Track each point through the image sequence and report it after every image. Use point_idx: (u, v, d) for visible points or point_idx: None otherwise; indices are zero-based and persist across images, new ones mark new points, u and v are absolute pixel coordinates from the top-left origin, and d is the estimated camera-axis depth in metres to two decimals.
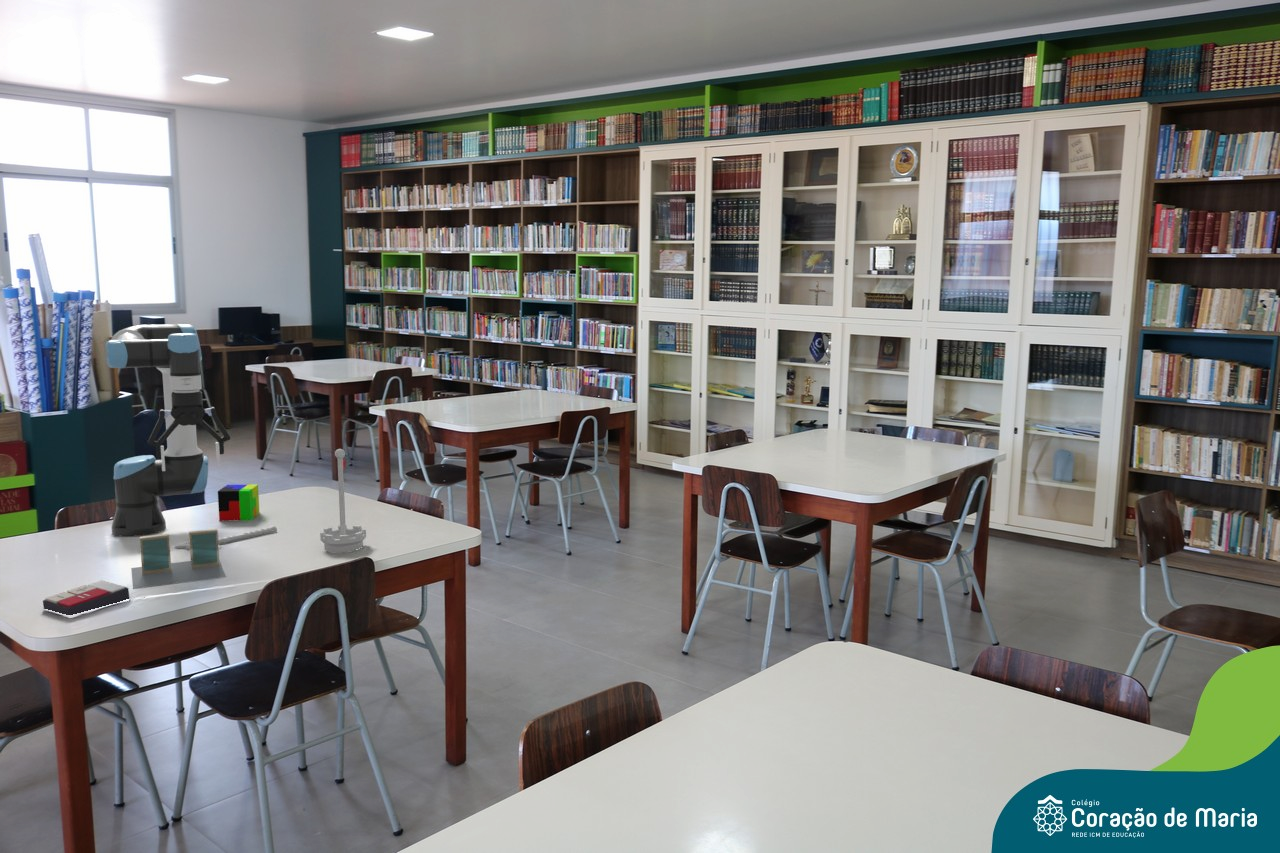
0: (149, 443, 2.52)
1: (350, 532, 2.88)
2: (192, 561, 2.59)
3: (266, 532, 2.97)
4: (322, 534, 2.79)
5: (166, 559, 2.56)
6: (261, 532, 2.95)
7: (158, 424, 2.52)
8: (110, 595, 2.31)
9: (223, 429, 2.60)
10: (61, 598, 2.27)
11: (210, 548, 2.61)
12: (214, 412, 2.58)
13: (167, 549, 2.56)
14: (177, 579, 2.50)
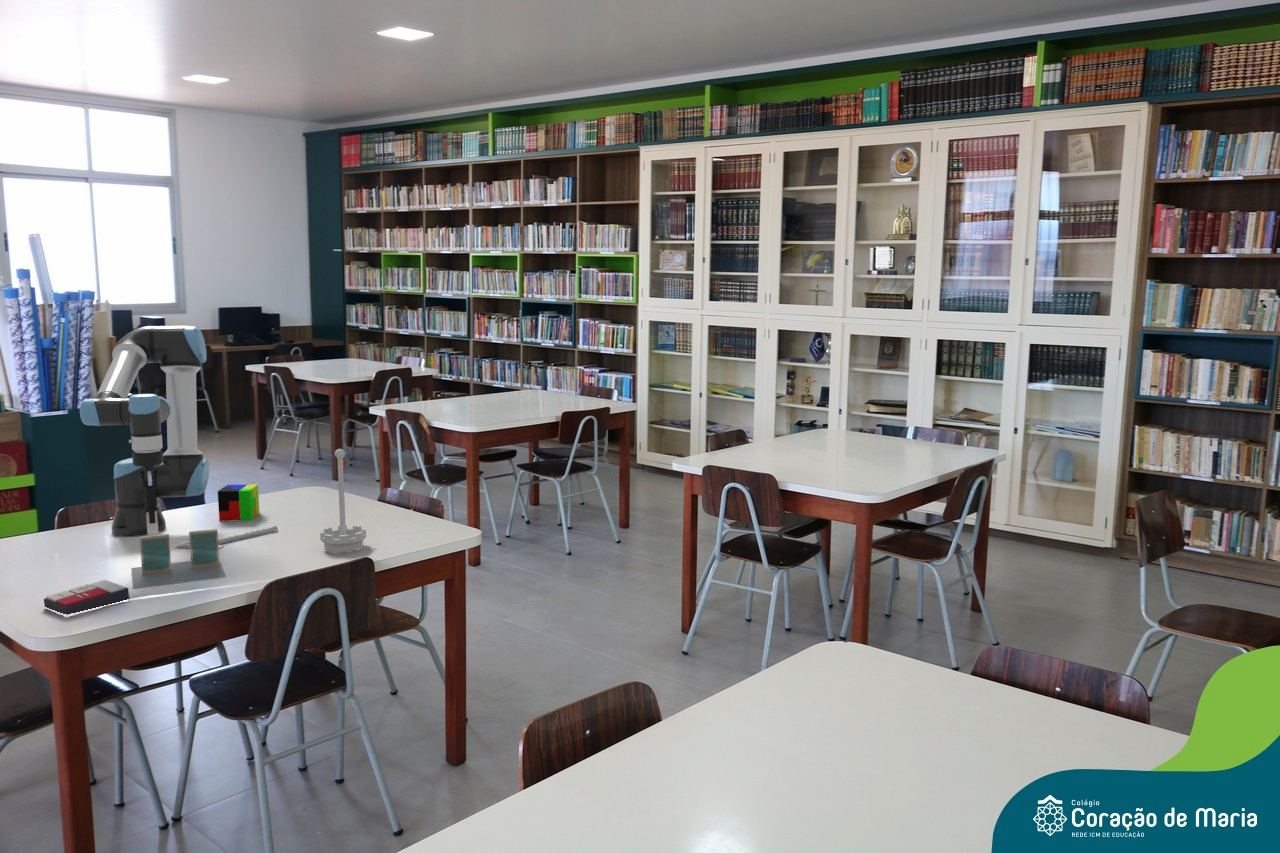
0: (145, 505, 2.65)
1: (350, 532, 2.88)
2: (192, 561, 2.59)
3: (267, 531, 2.98)
4: (322, 534, 2.79)
5: (166, 559, 2.56)
6: (262, 531, 2.96)
7: None
8: (109, 595, 2.31)
9: (146, 500, 2.59)
10: (61, 597, 2.28)
11: (210, 548, 2.61)
12: (145, 483, 2.57)
13: (167, 549, 2.56)
14: (177, 579, 2.50)
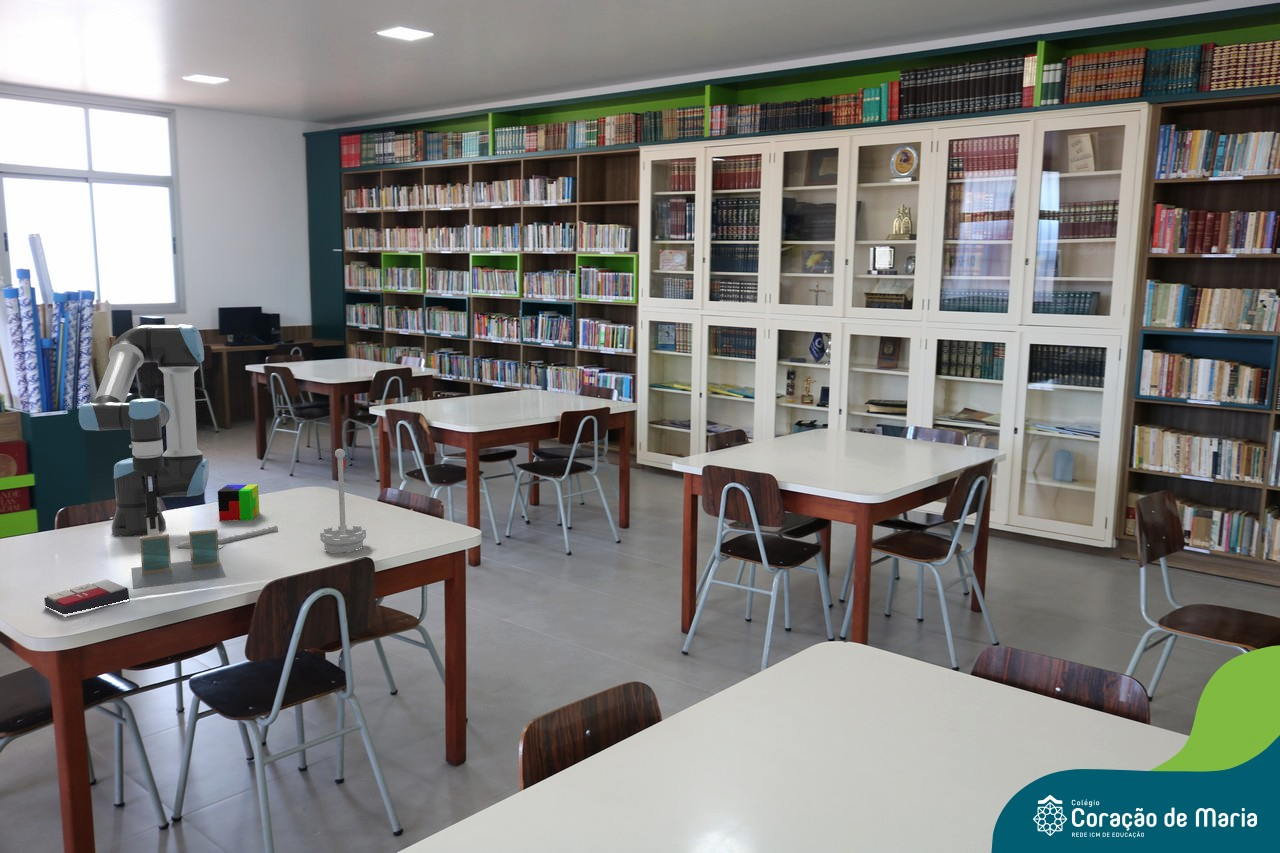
0: (146, 510, 2.63)
1: (350, 532, 2.88)
2: (192, 561, 2.59)
3: (267, 531, 2.98)
4: (322, 534, 2.79)
5: (166, 559, 2.56)
6: (263, 531, 2.96)
7: None
8: (108, 595, 2.31)
9: (146, 506, 2.57)
10: (61, 596, 2.28)
11: (210, 548, 2.61)
12: (145, 489, 2.55)
13: (167, 549, 2.56)
14: (177, 579, 2.50)
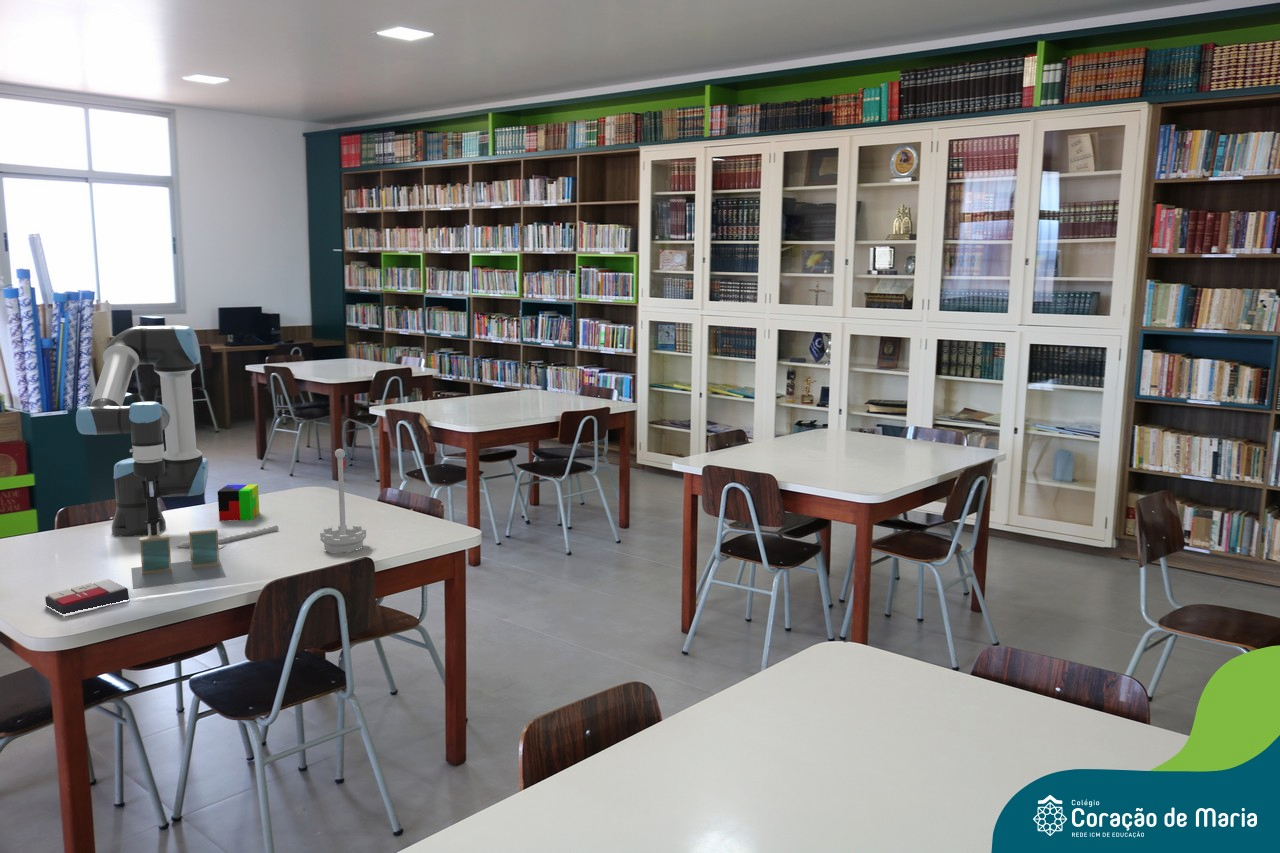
0: (147, 516, 2.57)
1: (350, 532, 2.88)
2: (192, 561, 2.59)
3: (268, 531, 2.98)
4: (322, 534, 2.79)
5: (166, 560, 2.56)
6: (263, 531, 2.97)
7: None
8: (108, 595, 2.31)
9: (147, 512, 2.50)
10: (61, 595, 2.29)
11: (210, 548, 2.61)
12: (146, 495, 2.48)
13: (168, 550, 2.55)
14: (177, 579, 2.50)
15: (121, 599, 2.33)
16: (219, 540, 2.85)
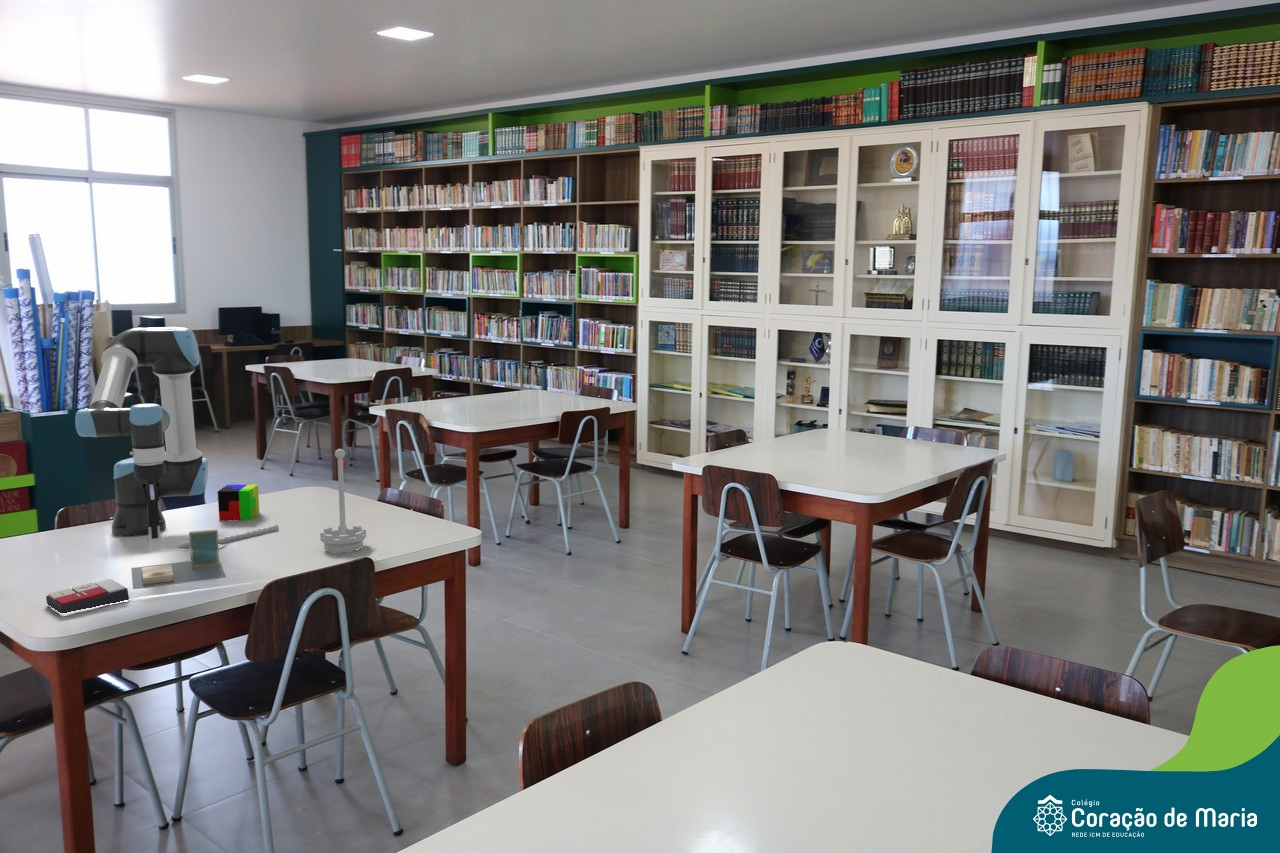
0: (147, 519, 2.55)
1: (350, 532, 2.88)
2: (192, 561, 2.59)
3: (268, 531, 2.99)
4: (322, 534, 2.79)
5: None
6: (264, 530, 2.97)
7: None
8: (107, 595, 2.31)
9: (148, 515, 2.48)
10: (61, 595, 2.29)
11: (210, 548, 2.61)
12: (147, 498, 2.46)
13: None
14: (177, 579, 2.50)
15: (121, 599, 2.33)
16: (220, 540, 2.85)
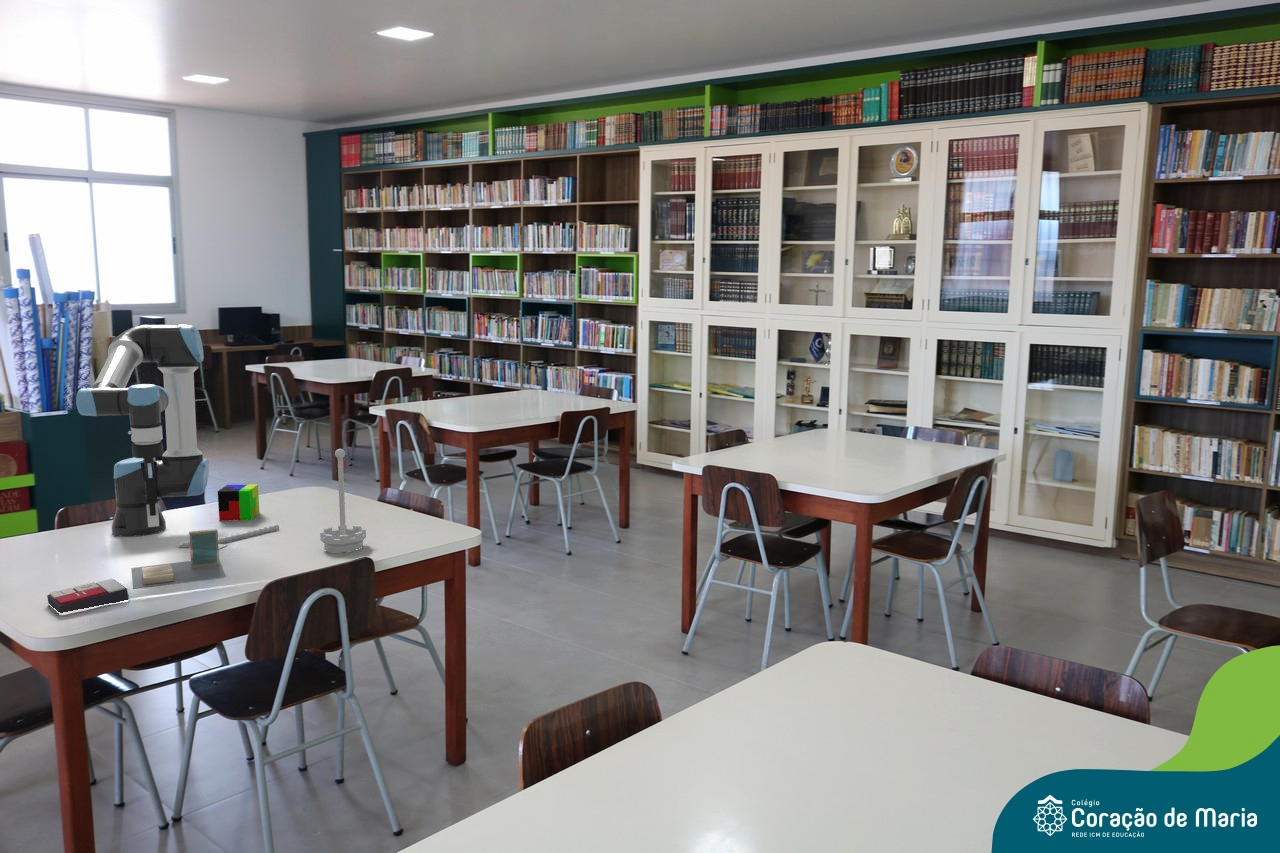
0: (145, 496, 2.61)
1: (350, 532, 2.88)
2: (192, 561, 2.59)
3: (269, 530, 2.99)
4: (322, 534, 2.79)
5: None
6: (264, 530, 2.98)
7: None
8: (106, 595, 2.31)
9: (146, 492, 2.55)
10: (61, 594, 2.30)
11: (210, 548, 2.61)
12: (145, 476, 2.52)
13: None
14: (177, 579, 2.50)
15: (120, 599, 2.33)
16: (221, 539, 2.85)
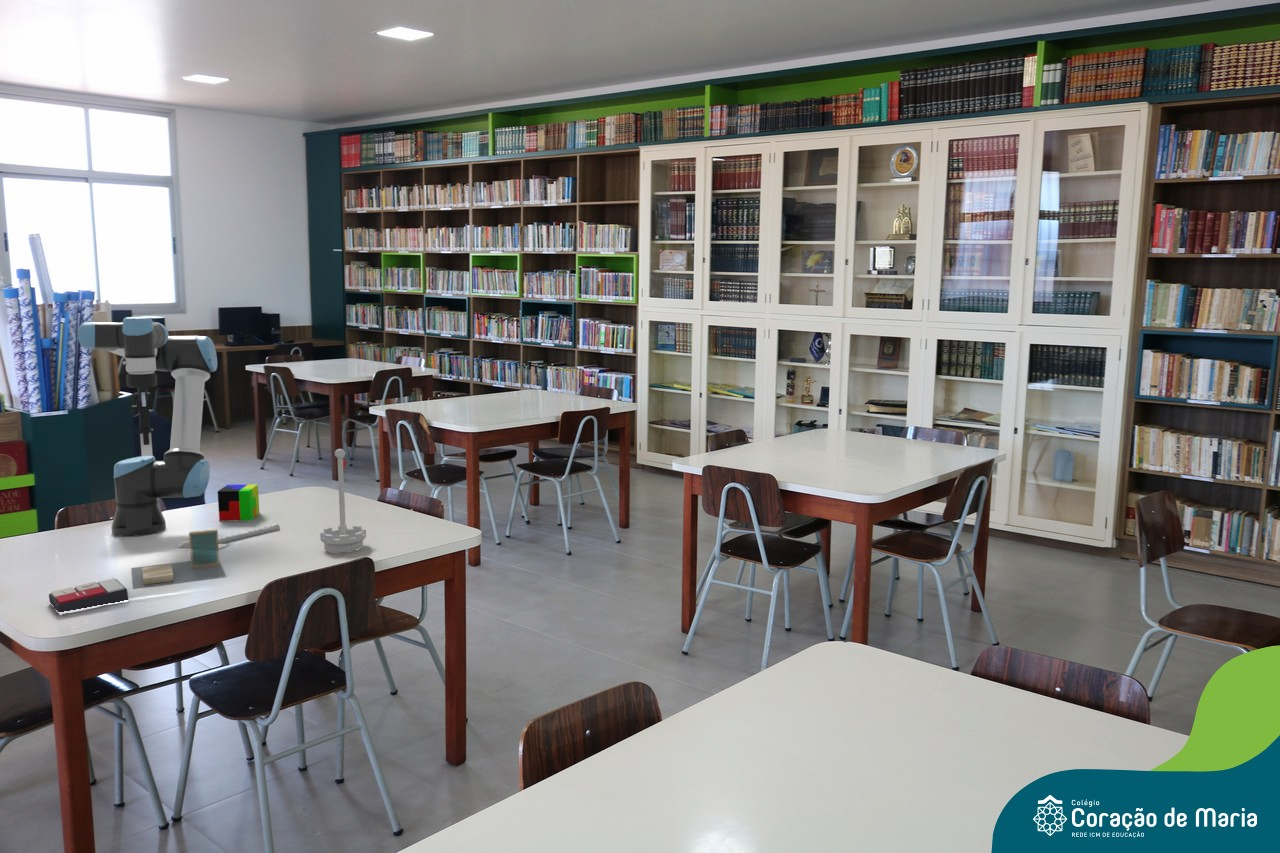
0: (139, 427, 2.69)
1: (350, 532, 2.88)
2: (192, 561, 2.59)
3: (269, 530, 2.99)
4: (322, 534, 2.79)
5: None
6: (265, 530, 2.98)
7: None
8: (105, 595, 2.31)
9: (140, 421, 2.63)
10: (62, 593, 2.30)
11: (210, 548, 2.61)
12: (139, 404, 2.61)
13: None
14: (177, 579, 2.50)
15: (120, 599, 2.33)
16: (221, 539, 2.86)
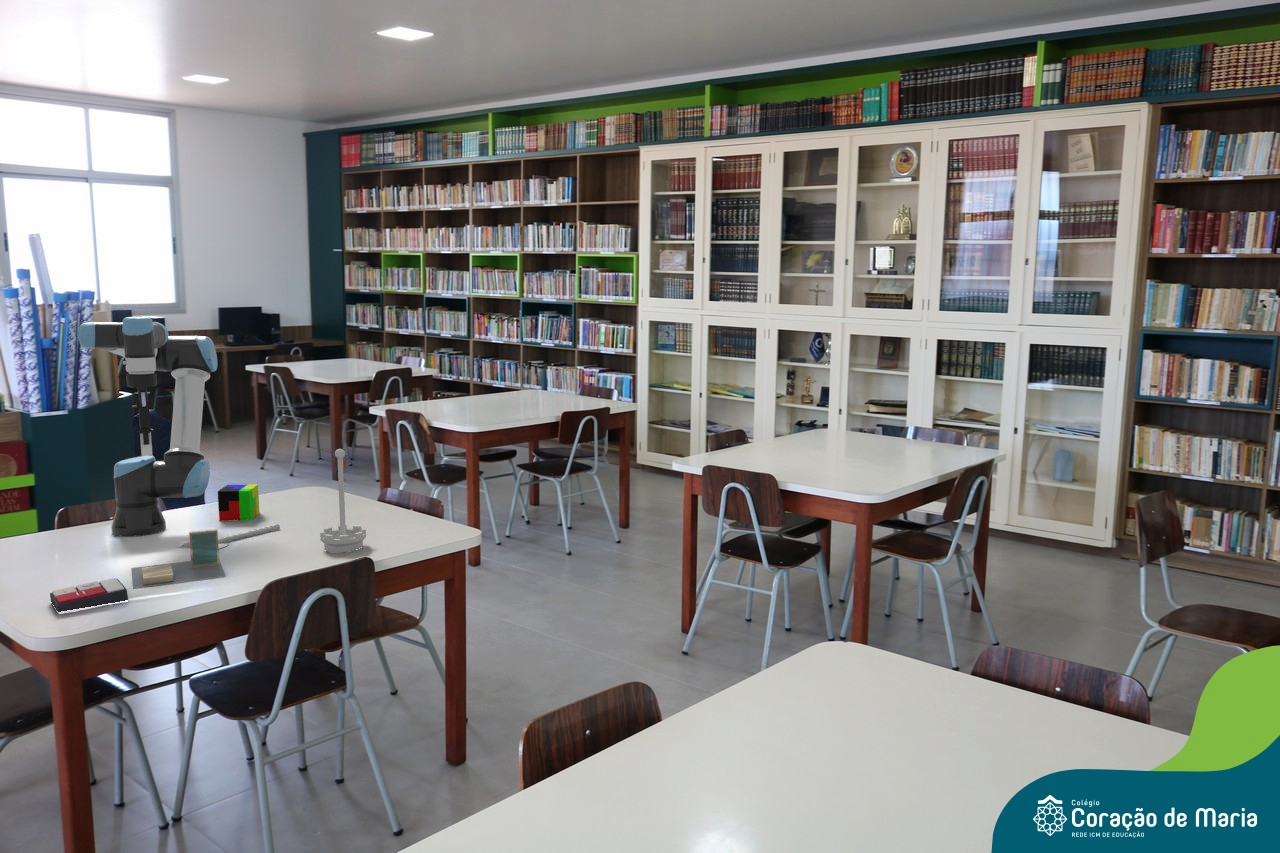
0: (139, 427, 2.69)
1: (350, 532, 2.88)
2: (192, 561, 2.59)
3: (270, 530, 3.00)
4: (322, 534, 2.79)
5: None
6: (265, 530, 2.98)
7: None
8: (105, 595, 2.31)
9: (140, 421, 2.63)
10: (62, 593, 2.31)
11: (210, 548, 2.61)
12: (139, 404, 2.61)
13: None
14: (177, 579, 2.50)
15: (119, 599, 2.33)
16: (222, 539, 2.86)
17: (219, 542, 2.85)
